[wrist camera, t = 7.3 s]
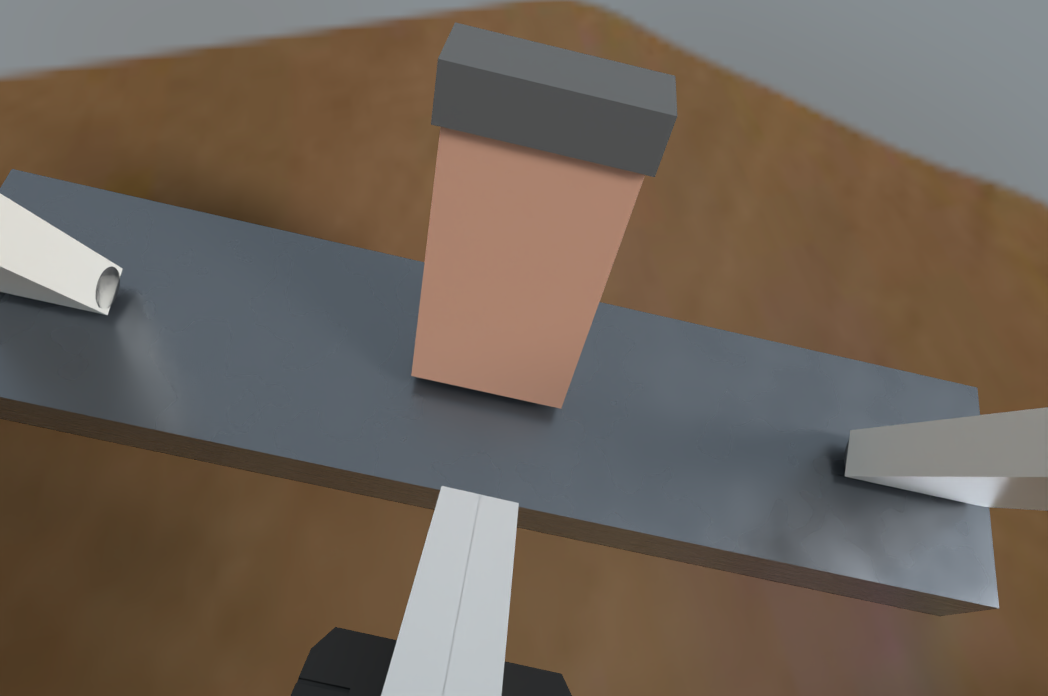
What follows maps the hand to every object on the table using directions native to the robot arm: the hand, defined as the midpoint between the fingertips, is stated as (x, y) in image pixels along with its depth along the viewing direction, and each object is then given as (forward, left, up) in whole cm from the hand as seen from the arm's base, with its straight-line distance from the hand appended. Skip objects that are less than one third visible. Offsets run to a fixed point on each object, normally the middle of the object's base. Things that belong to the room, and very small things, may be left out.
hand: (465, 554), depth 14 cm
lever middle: (+7, -3, -8) cm, 11 cm away
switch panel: (+7, -3, -12) cm, 14 cm away
